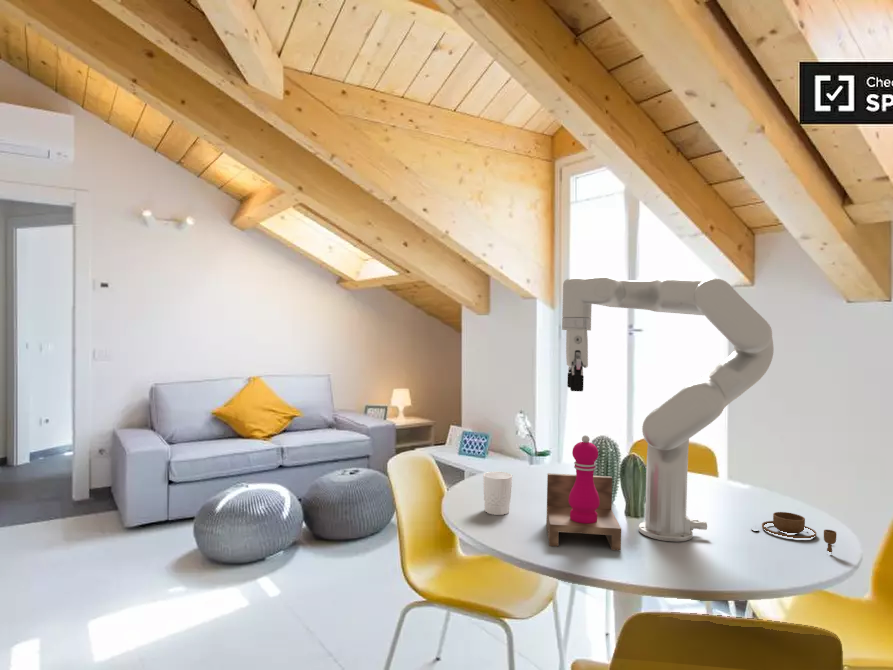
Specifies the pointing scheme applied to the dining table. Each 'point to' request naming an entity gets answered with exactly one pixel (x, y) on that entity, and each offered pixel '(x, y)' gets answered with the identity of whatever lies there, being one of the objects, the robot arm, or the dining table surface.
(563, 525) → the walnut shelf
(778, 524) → the place setting
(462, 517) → the dining table surface
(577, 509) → the pepper mill
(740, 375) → the robot arm
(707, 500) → the dining table surface
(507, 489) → the white cup
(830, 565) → the dining table surface
